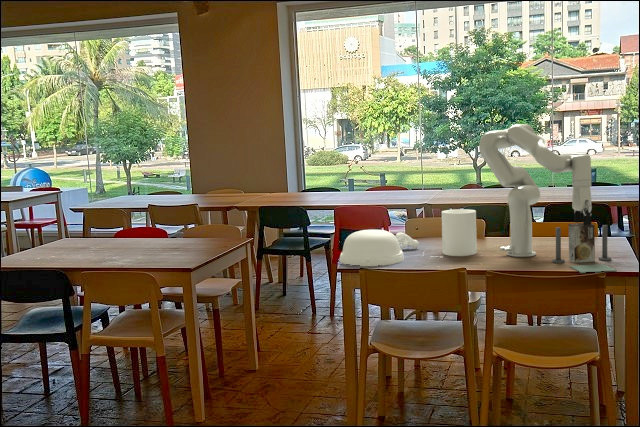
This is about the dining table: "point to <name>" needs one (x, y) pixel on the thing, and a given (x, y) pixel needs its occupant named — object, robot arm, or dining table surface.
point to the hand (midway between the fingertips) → (582, 223)
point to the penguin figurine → (406, 241)
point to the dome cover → (371, 248)
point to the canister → (459, 232)
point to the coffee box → (581, 243)
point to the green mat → (592, 268)
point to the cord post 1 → (558, 247)
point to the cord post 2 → (604, 245)
